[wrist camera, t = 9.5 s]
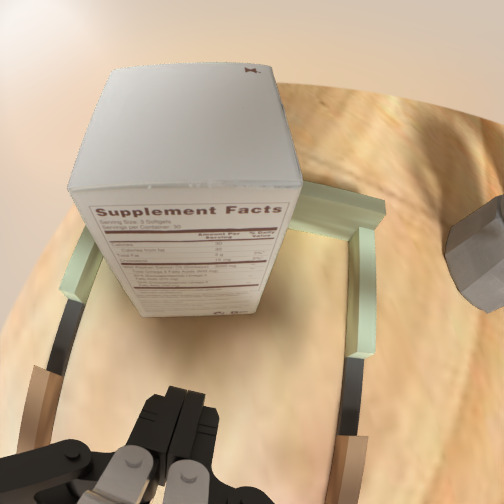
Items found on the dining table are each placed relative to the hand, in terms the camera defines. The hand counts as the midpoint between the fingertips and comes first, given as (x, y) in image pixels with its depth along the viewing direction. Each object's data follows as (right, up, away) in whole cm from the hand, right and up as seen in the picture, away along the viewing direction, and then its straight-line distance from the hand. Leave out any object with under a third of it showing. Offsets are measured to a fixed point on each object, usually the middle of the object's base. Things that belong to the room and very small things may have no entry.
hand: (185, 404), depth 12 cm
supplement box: (-1, +5, +9) cm, 11 cm away
